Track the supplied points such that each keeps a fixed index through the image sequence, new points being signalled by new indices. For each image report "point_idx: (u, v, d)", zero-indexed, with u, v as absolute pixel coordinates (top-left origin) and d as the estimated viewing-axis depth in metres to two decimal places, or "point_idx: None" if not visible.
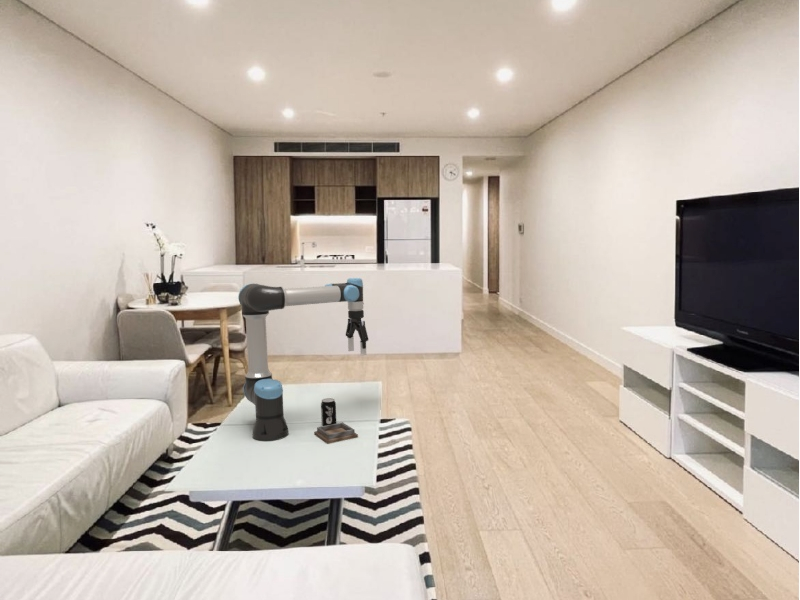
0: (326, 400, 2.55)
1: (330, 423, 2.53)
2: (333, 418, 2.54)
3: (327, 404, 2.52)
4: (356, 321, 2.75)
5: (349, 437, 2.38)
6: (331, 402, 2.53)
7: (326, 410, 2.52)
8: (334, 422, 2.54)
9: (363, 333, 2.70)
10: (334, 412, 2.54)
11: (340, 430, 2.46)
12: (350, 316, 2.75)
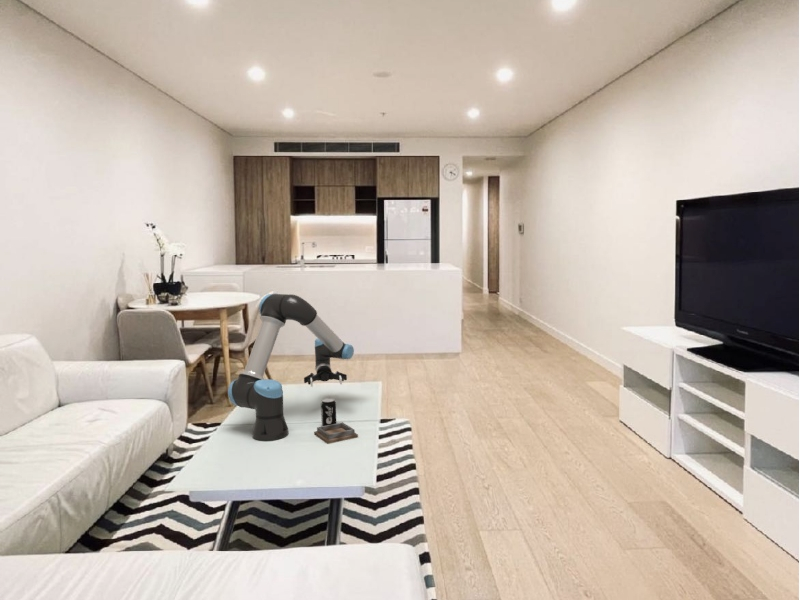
0: (326, 400, 2.55)
1: (330, 423, 2.53)
2: (333, 418, 2.54)
3: (327, 404, 2.52)
4: (329, 372, 2.80)
5: (349, 437, 2.38)
6: (331, 402, 2.53)
7: (326, 410, 2.52)
8: (334, 422, 2.54)
9: None
10: (334, 412, 2.54)
11: (340, 430, 2.46)
12: (326, 366, 2.82)
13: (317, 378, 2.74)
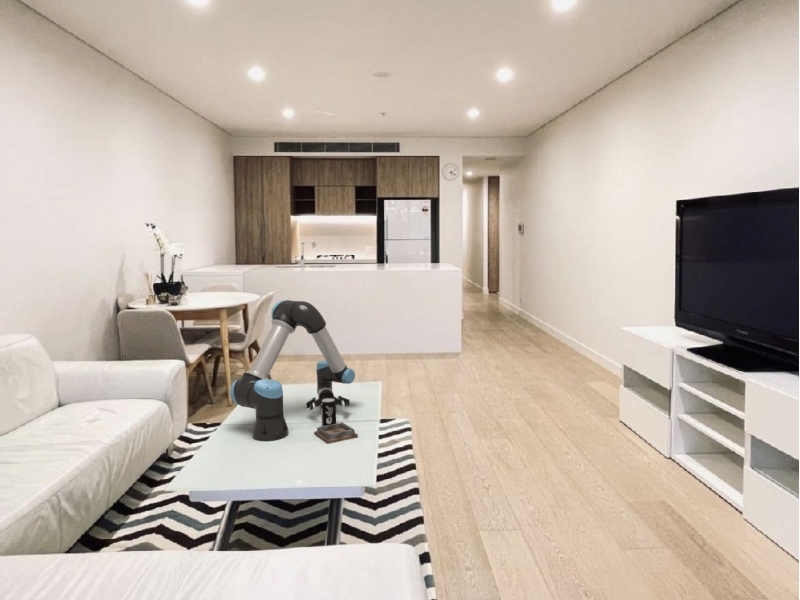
0: (326, 400, 2.55)
1: (330, 423, 2.53)
2: (333, 418, 2.54)
3: (327, 404, 2.52)
4: (332, 396, 2.77)
5: (349, 437, 2.38)
6: (331, 402, 2.53)
7: (326, 410, 2.52)
8: (334, 422, 2.54)
9: None
10: (334, 412, 2.54)
11: (340, 430, 2.46)
12: (328, 390, 2.79)
13: (319, 403, 2.71)
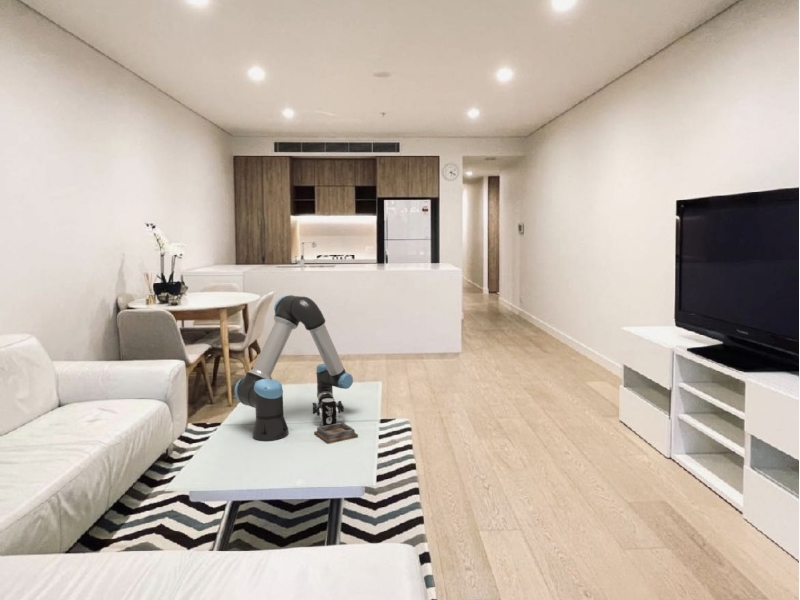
0: (326, 400, 2.55)
1: (330, 423, 2.53)
2: (333, 418, 2.54)
3: (327, 404, 2.52)
4: None
5: (349, 437, 2.38)
6: (331, 402, 2.53)
7: (326, 410, 2.52)
8: (334, 422, 2.54)
9: None
10: (334, 412, 2.54)
11: (340, 430, 2.46)
12: (328, 395, 2.70)
13: None
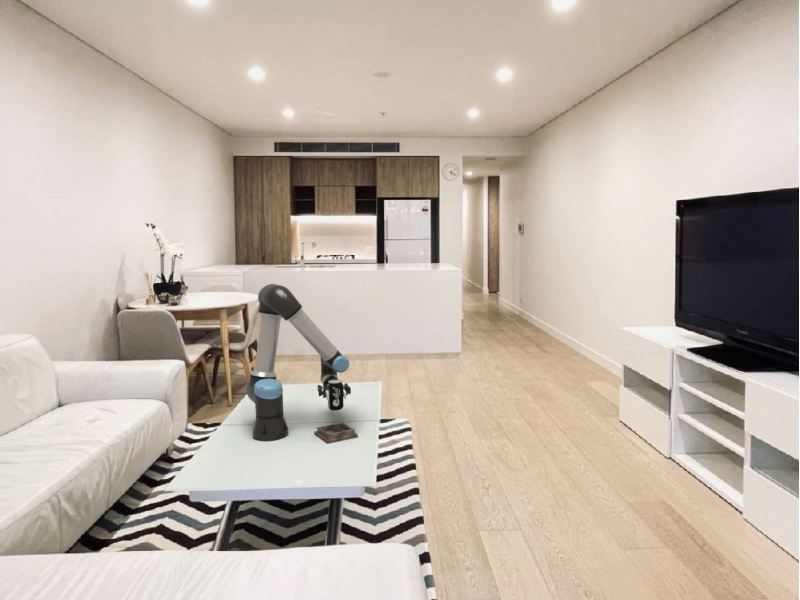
0: (333, 381, 2.43)
1: (337, 405, 2.41)
2: (340, 400, 2.41)
3: (334, 385, 2.40)
4: None
5: (349, 437, 2.38)
6: (338, 383, 2.41)
7: (333, 392, 2.40)
8: (341, 404, 2.42)
9: None
10: (341, 394, 2.42)
11: (340, 430, 2.46)
12: (334, 377, 2.58)
13: None
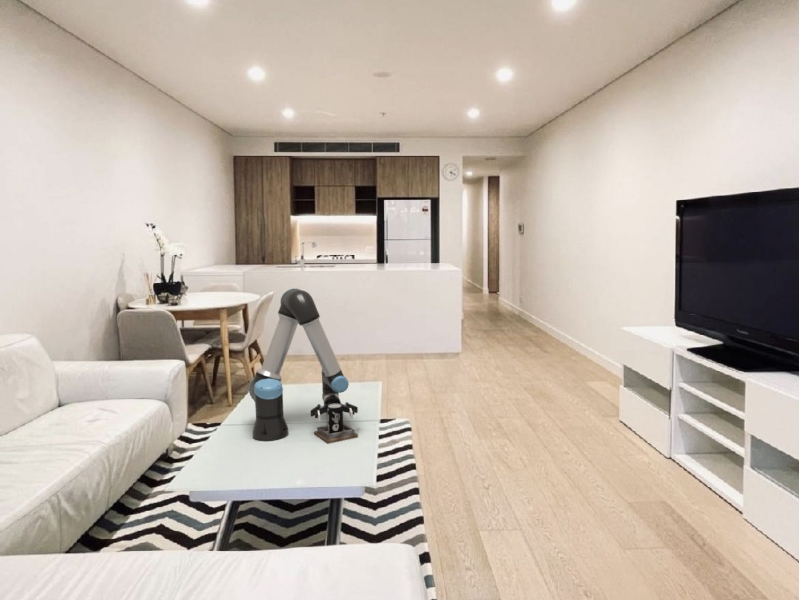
0: (333, 406, 2.42)
1: (337, 430, 2.39)
2: (340, 425, 2.40)
3: (334, 410, 2.39)
4: (338, 403, 2.55)
5: (349, 437, 2.38)
6: (338, 408, 2.39)
7: (333, 416, 2.39)
8: (341, 429, 2.41)
9: None
10: (341, 418, 2.41)
11: None
12: (334, 396, 2.57)
13: (325, 410, 2.49)
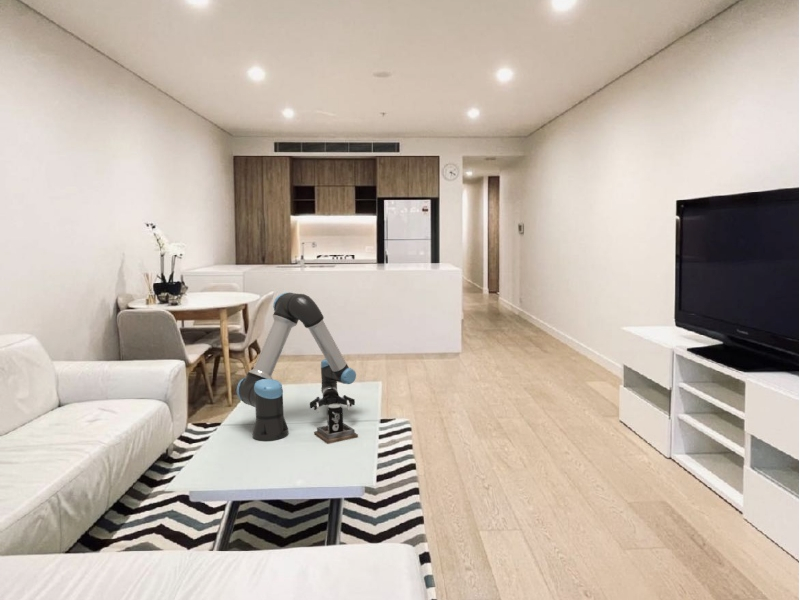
0: (332, 406, 2.42)
1: (337, 430, 2.40)
2: (340, 425, 2.40)
3: (333, 410, 2.39)
4: (336, 396, 2.67)
5: (349, 437, 2.38)
6: (338, 408, 2.39)
7: (333, 416, 2.39)
8: (341, 429, 2.41)
9: None
10: (341, 418, 2.41)
11: None
12: (333, 390, 2.69)
13: (323, 403, 2.61)
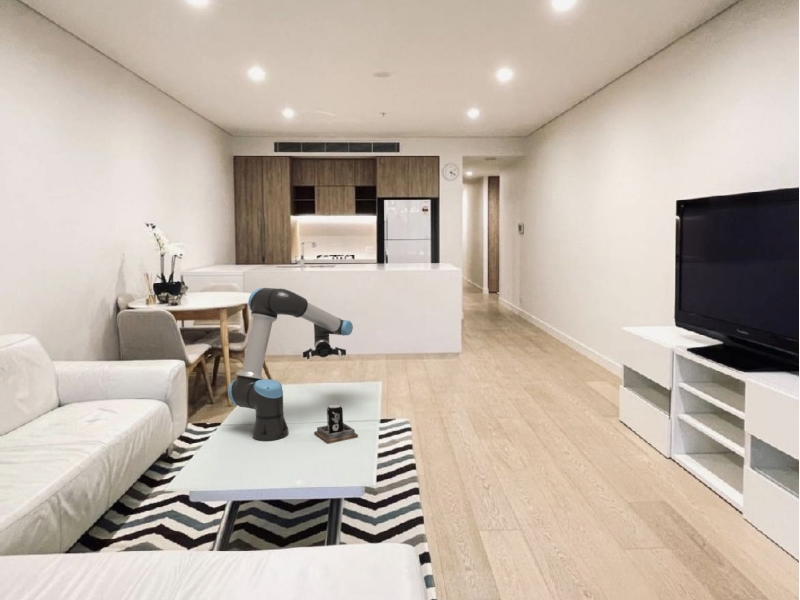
0: (332, 406, 2.42)
1: (337, 430, 2.40)
2: (340, 425, 2.40)
3: (334, 410, 2.39)
4: None
5: (349, 437, 2.38)
6: (338, 408, 2.39)
7: (333, 416, 2.39)
8: (341, 429, 2.41)
9: None
10: (341, 418, 2.41)
11: None
12: (325, 342, 2.80)
13: (316, 353, 2.72)
